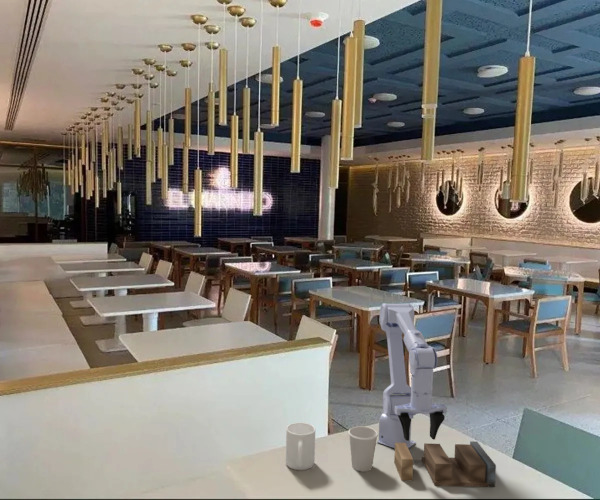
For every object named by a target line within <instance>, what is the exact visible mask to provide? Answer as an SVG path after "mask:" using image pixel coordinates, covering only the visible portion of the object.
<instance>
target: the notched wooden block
mask: <svg viewBox="0 0 600 500" xmlns="http://www.w3.org/2000/svg"><path fill="white" fill-rule="evenodd" d="M469 443H470V444H464V443H462V444H456V443H455V444H454V457H448V454H447V453H446V452H445V450H444V449H443V446H442V445H441V444H440V443H425V442H424V444H423V456H422V457H421V462H422V465H423V466H424V468H425V470H426V471H427V473H428V475H429V478H430V479H431V481H432V483H433V485H434V486H437V487H439V486H440V487H442V486H443V487H479V488H481V486H482V488H484V487H485V488H486V487H487V488H495V487H496V472H497V471H496V470H497V465H496V463H495V462H494V460H492V458H491V457H490V456H489V454H487V452H486V451H485V449H484V448H483V447H482V446H481V444H480V443H479V442H478V441H471V440H470V442H469ZM488 486H489V487H488Z"/></svg>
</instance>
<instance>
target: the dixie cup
mask: <svg viewBox="0 0 600 500" xmlns="http://www.w3.org/2000/svg"><path fill="white" fill-rule="evenodd" d="M347 433H348V435H349V447H350V457H351V459H350V460H351V461H350V462H351V467H352V468H353V469H354V470H355V471H356V472H362V473H363V472H369V471H371V470H372V469H373V464H374V458H375V451H376V444H377V441H378V440H377V439H378V438H379V431H377V430H375V428H373V427H369V426H361V425H360V426H354V427H351V428H349V430H348V432H347Z"/></svg>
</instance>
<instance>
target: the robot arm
mask: <svg viewBox="0 0 600 500" xmlns="http://www.w3.org/2000/svg"><path fill="white" fill-rule="evenodd" d="M379 308H380V309H379V322H380V323H379V324H380V328H381V330H382V331H383V332H385V335H386V341H387V351H388V352H387V353H388V366H389V374H390V385H388V386H387V387H386V388H385V389H384V390H383V391H382V392H383V393H382V409H383V413H382V414H381V415H380V418H379V421H378V422H379V423H378V440H376V443H378V444H381V445H383V446H387V447H389V448H392V449H395V443H406V445H407V447H408V449H410V448H411V447H413V446H414V445H415V444H416V441H414V440H412V439H411V438H412V437H411V435H412V420H413V419H414V416H416V415H417V414H422V415H429V424H430V425H429V438H431V439H432V440H436V438H437V434H438V431H439V429H440V426H441V425H442V423H444V420H445V417H446V415H444V414H447V412H448V406H447V405H446V404H444V403H433V385H434V369H436V368H437V366H438V362H439V360H438V353H437V350H436V348H435V347H434V346H431V345H429V344H428V343H427V341H426V339H425V337H424V335H423V334H422V332H421V331H420V330H418V329H417V328H416V326H415V323H414V319H415V309H414V306H413V304H412V303H409V302H408V303H385V302H383V303H382V304H381V305H380V307H379ZM403 342H404V343H403ZM403 345H405V347H406V349H407V351H408V352H407V353H408V354H409V355H408V360H409V372H410V374H411V381H410V382H411V383H410V384H411V386H410V385H408V384H407V376H406V375H407V374H406V364H405V356H404V346H403Z"/></svg>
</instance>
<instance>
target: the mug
mask: <svg viewBox="0 0 600 500" xmlns="http://www.w3.org/2000/svg"><path fill="white" fill-rule="evenodd" d="M285 434H286V435H285V465H286V466H287V467H288V468H289V469H291V470H295V471H305V470H310V469H311V468H312V467H313V466H314V464H315V461H316V460H315V459H316V457H315V456H316V455H315V454H316V451H315V450H316V427H315V426H314V425H312V424H310V423H305V422H293V423H290V424H288V425H287V426H286V430H285Z"/></svg>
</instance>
